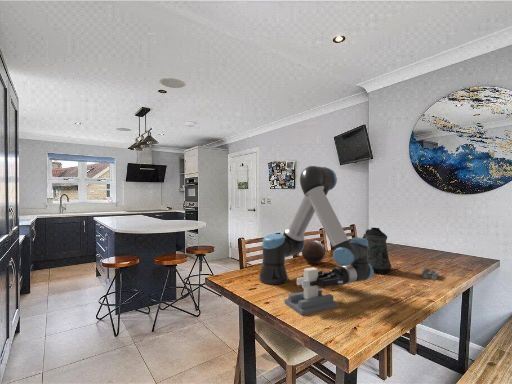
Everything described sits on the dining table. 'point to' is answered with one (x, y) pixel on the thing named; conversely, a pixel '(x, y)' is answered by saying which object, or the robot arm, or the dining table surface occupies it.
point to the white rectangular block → (312, 291)
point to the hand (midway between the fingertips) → (299, 283)
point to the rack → (310, 302)
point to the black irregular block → (377, 251)
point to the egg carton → (430, 273)
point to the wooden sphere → (313, 251)
